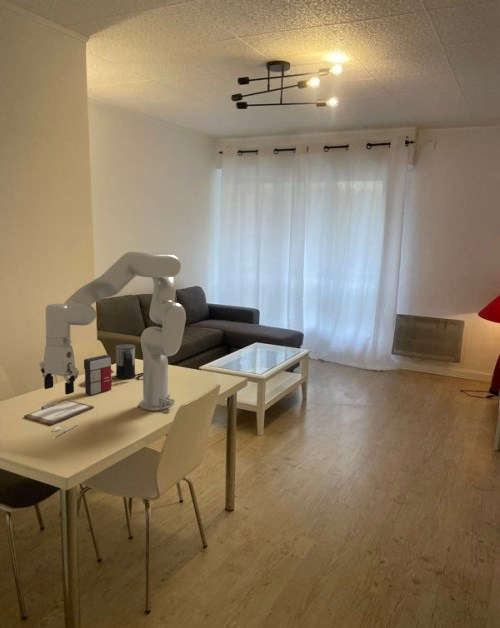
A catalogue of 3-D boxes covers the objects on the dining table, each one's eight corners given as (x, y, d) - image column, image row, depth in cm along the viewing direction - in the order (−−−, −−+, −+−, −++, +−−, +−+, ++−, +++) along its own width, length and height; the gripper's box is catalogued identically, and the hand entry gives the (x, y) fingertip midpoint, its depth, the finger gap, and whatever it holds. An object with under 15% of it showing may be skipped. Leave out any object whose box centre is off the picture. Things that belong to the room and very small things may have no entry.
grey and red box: (90, 396, 198) (89, 361, 196) (84, 394, 201) (83, 359, 198) (112, 390, 207) (112, 356, 204) (106, 387, 209) (105, 354, 207)
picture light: (52, 440, 157) (52, 434, 156) (41, 438, 158) (41, 432, 158) (80, 425, 170) (80, 419, 170) (70, 423, 171) (70, 417, 171)
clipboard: (93, 408, 185) (93, 403, 185) (51, 425, 167) (51, 420, 167) (67, 401, 191) (67, 397, 191) (24, 417, 174) (24, 413, 173)
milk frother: (112, 375, 227) (111, 345, 224) (141, 370, 237) (141, 341, 235) (126, 383, 216) (126, 351, 214) (156, 377, 227) (157, 346, 224)
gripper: (86, 342, 158) (86, 392, 161) (49, 335, 166) (50, 383, 168) (68, 346, 151) (68, 398, 154) (30, 339, 159) (31, 389, 162)
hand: (59, 390), depth 161 cm, fingers open, 9 cm apart
